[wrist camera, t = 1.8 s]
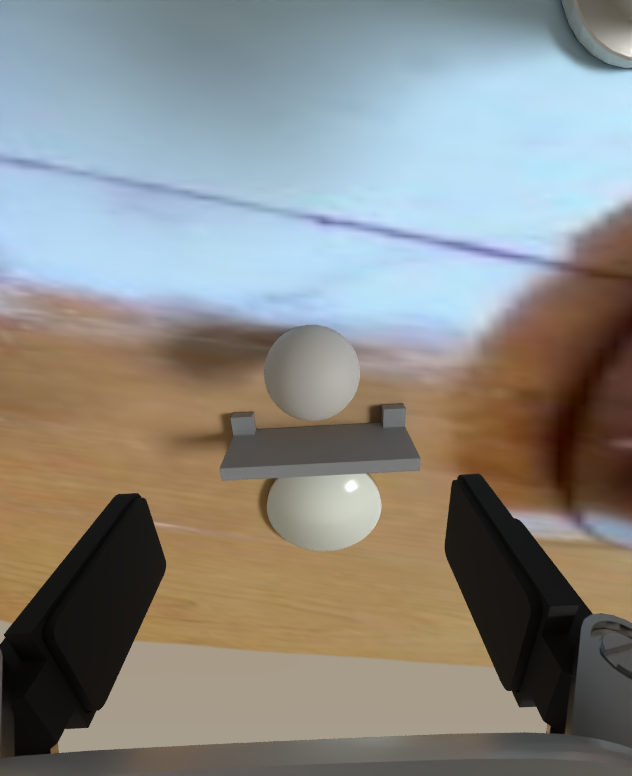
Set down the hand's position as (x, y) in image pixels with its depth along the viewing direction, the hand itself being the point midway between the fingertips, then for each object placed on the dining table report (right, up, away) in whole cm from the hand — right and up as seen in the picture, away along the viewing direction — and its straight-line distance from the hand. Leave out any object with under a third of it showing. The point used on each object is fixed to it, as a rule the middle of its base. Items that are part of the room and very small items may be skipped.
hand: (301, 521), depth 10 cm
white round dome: (+1, -8, +26) cm, 27 cm away
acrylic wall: (+1, 0, +22) cm, 22 cm away
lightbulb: (0, +8, +19) cm, 20 cm away
